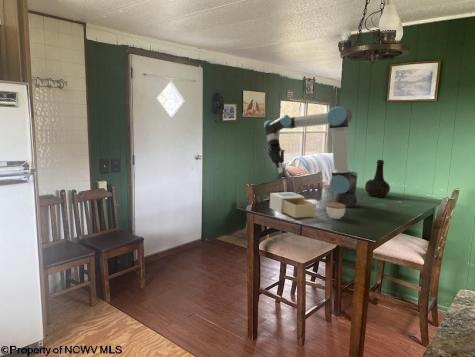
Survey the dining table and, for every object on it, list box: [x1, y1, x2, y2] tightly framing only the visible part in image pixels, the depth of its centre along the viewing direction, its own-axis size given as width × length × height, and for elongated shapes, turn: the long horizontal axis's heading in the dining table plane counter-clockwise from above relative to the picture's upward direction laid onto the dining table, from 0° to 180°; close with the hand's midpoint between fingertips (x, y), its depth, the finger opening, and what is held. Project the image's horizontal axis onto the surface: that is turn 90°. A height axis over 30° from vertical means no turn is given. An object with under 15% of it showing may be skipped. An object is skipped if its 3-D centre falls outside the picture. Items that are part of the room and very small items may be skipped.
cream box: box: [269, 191, 306, 214], centre depth 223 cm, size 14×16×10 cm
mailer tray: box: [282, 198, 317, 219], centre depth 217 cm, size 26×14×7 cm, turn 23°
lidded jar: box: [326, 202, 347, 220], centre depth 210 cm, size 11×11×9 cm
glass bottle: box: [364, 159, 391, 198], centre depth 277 cm, size 18×18×28 cm
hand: (281, 172), depth 241 cm, fingers closed
